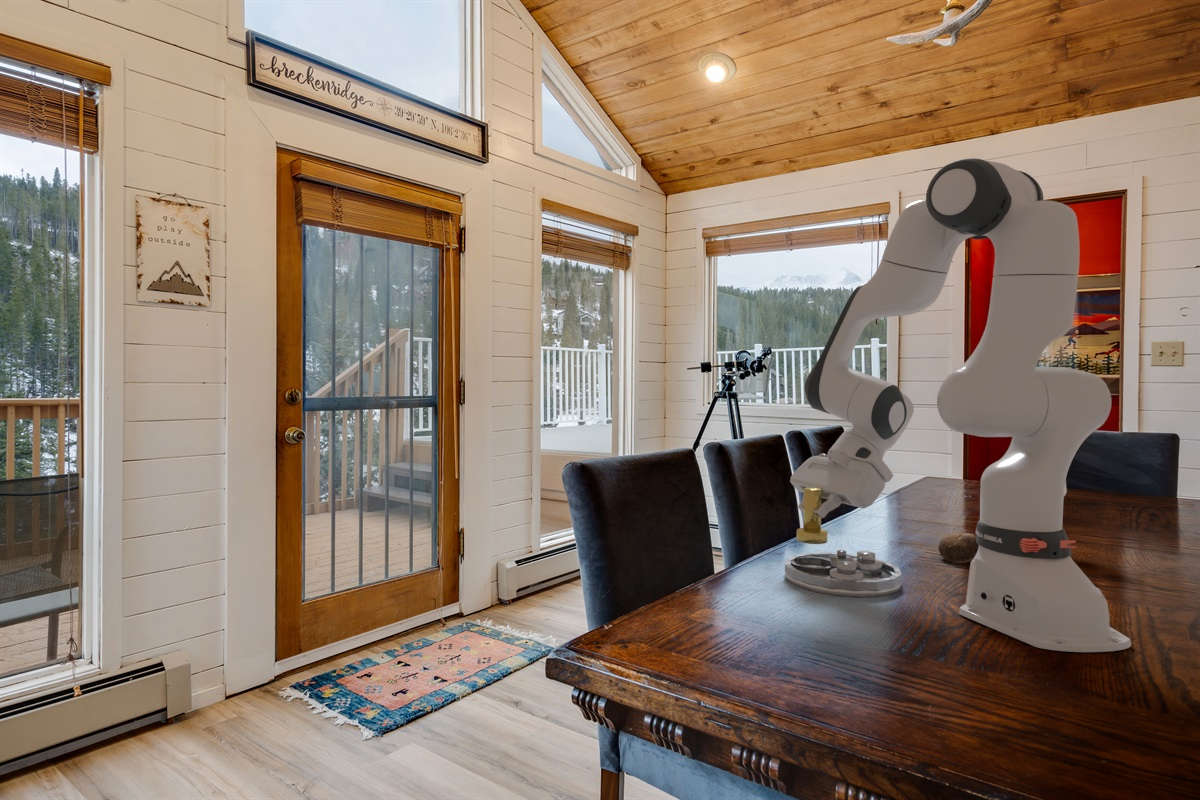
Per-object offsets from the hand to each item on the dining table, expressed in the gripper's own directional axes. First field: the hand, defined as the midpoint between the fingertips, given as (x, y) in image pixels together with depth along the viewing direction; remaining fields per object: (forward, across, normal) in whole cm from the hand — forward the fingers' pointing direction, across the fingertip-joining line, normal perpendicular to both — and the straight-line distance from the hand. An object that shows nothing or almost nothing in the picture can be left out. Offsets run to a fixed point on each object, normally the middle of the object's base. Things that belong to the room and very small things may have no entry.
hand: (809, 512), depth 129 cm
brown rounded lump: (-16, +3, +34) cm, 37 cm away
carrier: (+6, +5, +10) cm, 13 cm away
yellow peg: (+3, 0, +4) cm, 5 cm away
